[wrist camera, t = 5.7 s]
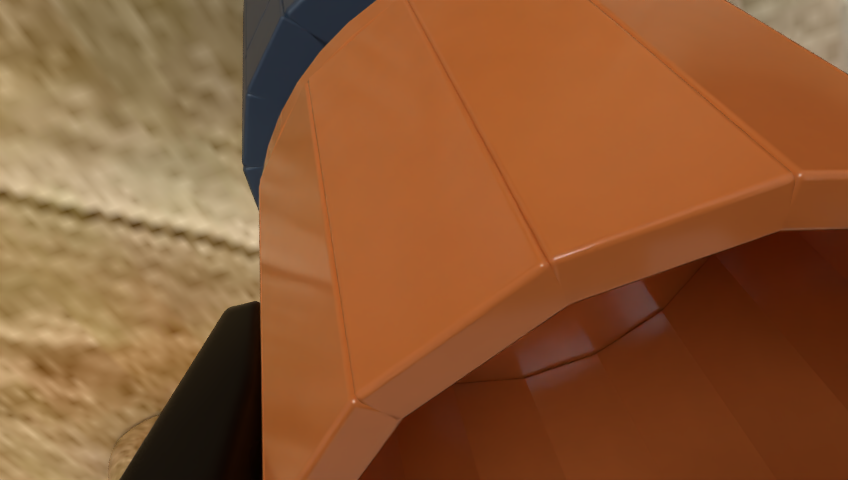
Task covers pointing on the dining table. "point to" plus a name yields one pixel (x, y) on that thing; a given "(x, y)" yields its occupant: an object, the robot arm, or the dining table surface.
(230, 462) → the robot arm
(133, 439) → the beer glass
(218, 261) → the dining table surface
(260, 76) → the jar
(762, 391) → the cup
